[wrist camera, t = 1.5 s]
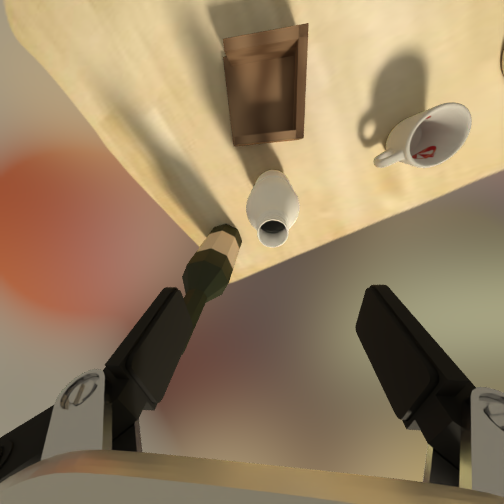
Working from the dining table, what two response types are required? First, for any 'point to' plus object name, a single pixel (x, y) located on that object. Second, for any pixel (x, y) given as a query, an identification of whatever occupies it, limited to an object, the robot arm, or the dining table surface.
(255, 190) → the water bottle
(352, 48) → the dining table surface
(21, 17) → the dining table surface
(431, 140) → the cup
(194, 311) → the wine bottle
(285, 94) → the open wooden box
